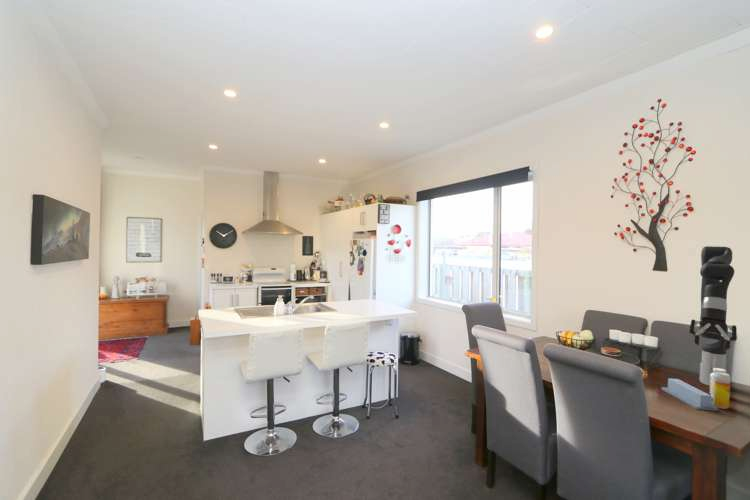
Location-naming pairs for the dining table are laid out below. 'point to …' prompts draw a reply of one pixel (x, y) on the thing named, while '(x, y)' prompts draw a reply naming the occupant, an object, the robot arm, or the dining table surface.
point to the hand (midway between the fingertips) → (711, 347)
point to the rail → (689, 395)
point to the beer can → (720, 389)
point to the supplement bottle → (717, 371)
